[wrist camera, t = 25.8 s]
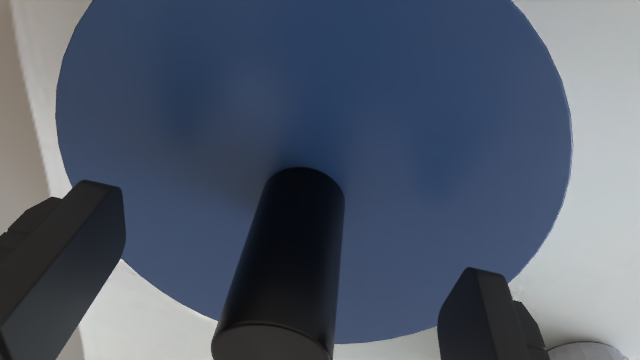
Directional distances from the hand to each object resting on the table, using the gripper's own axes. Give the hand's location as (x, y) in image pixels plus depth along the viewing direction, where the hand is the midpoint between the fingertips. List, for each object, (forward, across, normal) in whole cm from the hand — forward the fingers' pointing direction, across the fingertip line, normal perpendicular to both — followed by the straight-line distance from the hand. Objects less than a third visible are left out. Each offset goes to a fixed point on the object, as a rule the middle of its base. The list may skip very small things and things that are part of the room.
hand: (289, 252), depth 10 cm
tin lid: (+3, 0, 0) cm, 3 cm away
